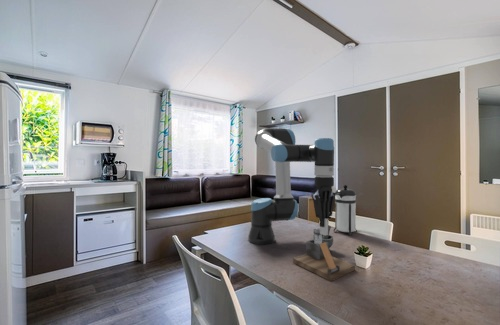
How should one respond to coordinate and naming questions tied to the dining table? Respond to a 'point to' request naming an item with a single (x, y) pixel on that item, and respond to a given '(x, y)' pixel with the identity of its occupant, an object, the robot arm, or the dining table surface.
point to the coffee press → (345, 210)
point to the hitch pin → (317, 236)
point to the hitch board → (322, 262)
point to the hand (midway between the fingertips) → (324, 234)
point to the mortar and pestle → (327, 238)
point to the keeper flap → (328, 257)
